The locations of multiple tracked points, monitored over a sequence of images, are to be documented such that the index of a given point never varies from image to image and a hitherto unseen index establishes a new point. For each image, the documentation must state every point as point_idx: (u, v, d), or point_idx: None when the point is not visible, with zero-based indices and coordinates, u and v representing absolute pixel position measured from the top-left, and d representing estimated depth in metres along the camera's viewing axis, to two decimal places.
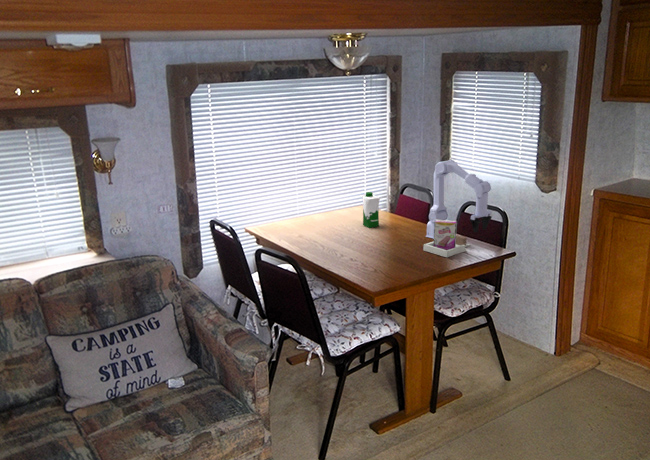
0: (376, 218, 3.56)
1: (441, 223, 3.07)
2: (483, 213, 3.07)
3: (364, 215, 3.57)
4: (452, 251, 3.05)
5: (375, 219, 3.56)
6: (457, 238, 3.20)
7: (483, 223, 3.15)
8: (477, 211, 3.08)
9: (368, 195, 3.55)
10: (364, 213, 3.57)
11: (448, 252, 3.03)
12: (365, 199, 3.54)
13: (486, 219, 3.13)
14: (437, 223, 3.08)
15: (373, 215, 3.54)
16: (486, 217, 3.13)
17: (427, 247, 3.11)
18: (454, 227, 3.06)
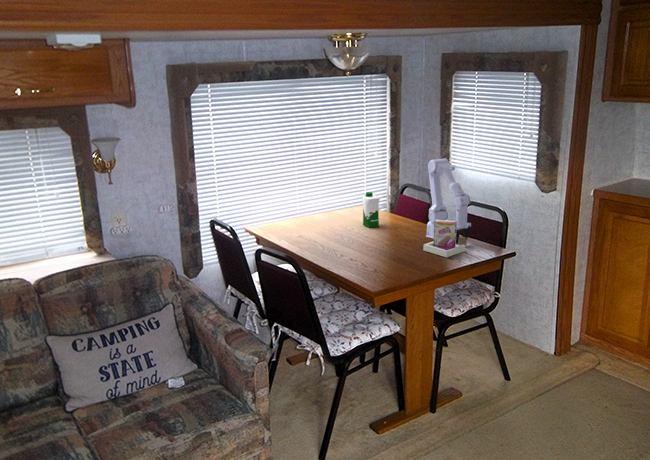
0: (376, 218, 3.56)
1: (441, 223, 3.07)
2: (463, 225, 3.15)
3: (364, 215, 3.57)
4: (452, 251, 3.05)
5: (375, 219, 3.56)
6: None
7: (463, 234, 3.22)
8: (457, 223, 3.16)
9: (368, 195, 3.55)
10: (364, 213, 3.57)
11: (448, 252, 3.03)
12: (365, 199, 3.54)
13: (466, 231, 3.21)
14: (437, 223, 3.08)
15: (373, 215, 3.54)
16: (466, 229, 3.20)
17: (427, 247, 3.11)
18: (454, 227, 3.06)
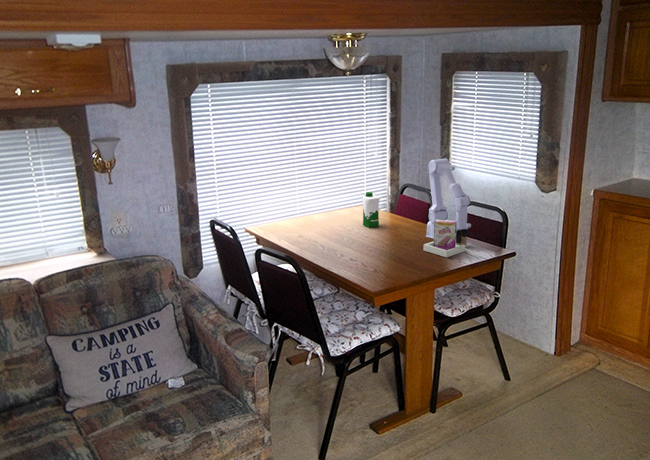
0: (376, 218, 3.56)
1: (441, 223, 3.07)
2: (463, 226, 3.15)
3: (364, 215, 3.57)
4: (452, 251, 3.05)
5: (375, 219, 3.56)
6: None
7: (461, 236, 3.21)
8: (457, 224, 3.16)
9: (368, 195, 3.55)
10: (364, 213, 3.57)
11: (448, 252, 3.03)
12: (365, 199, 3.54)
13: (463, 232, 3.19)
14: (437, 223, 3.08)
15: (373, 215, 3.54)
16: (463, 230, 3.19)
17: (427, 247, 3.11)
18: (454, 227, 3.06)
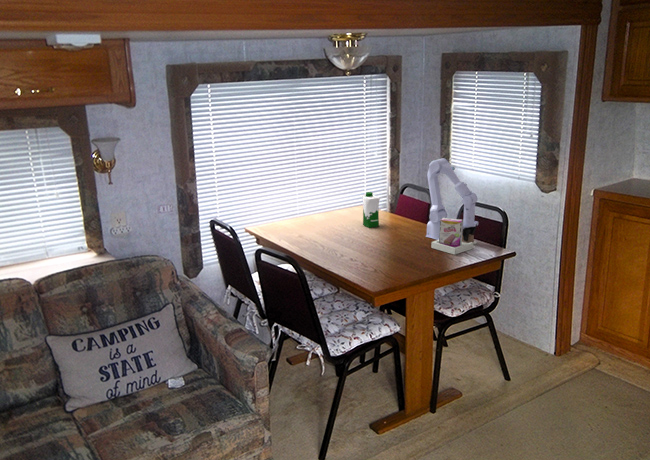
0: (376, 218, 3.56)
1: (446, 221, 3.10)
2: (470, 223, 3.19)
3: (364, 215, 3.57)
4: (460, 248, 3.09)
5: (375, 219, 3.56)
6: None
7: (468, 234, 3.25)
8: (465, 221, 3.20)
9: (368, 195, 3.55)
10: (364, 213, 3.57)
11: (456, 249, 3.07)
12: (365, 199, 3.54)
13: (471, 230, 3.23)
14: (443, 221, 3.10)
15: (373, 215, 3.54)
16: (471, 228, 3.23)
17: (435, 244, 3.15)
18: (459, 226, 3.08)
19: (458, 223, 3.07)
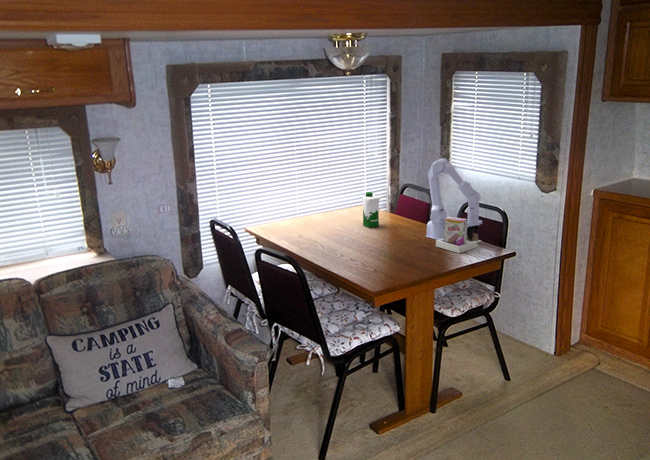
0: (376, 218, 3.56)
1: (450, 220, 3.12)
2: (474, 222, 3.21)
3: (364, 215, 3.57)
4: (464, 247, 3.11)
5: (375, 219, 3.56)
6: None
7: (472, 232, 3.27)
8: (469, 220, 3.22)
9: (368, 195, 3.55)
10: (364, 213, 3.57)
11: (460, 248, 3.09)
12: (365, 199, 3.54)
13: (475, 229, 3.25)
14: (447, 220, 3.13)
15: (373, 215, 3.54)
16: (475, 227, 3.25)
17: (439, 243, 3.18)
18: (463, 225, 3.09)
19: (462, 222, 3.09)
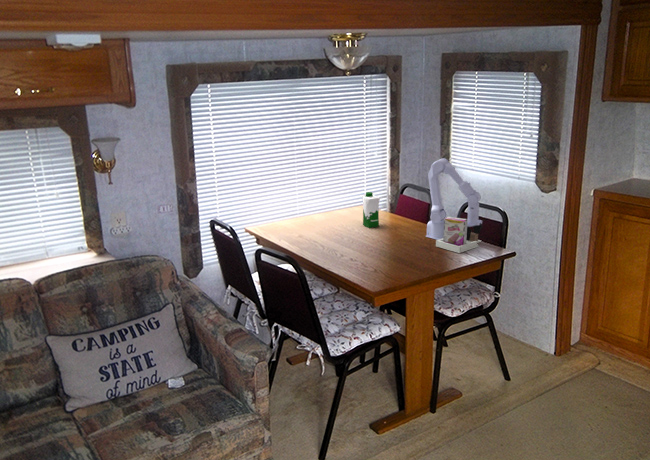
0: (376, 218, 3.56)
1: (450, 220, 3.12)
2: (474, 222, 3.21)
3: (364, 215, 3.57)
4: (464, 247, 3.11)
5: (375, 219, 3.56)
6: None
7: (475, 232, 3.29)
8: (469, 220, 3.22)
9: (368, 195, 3.55)
10: (364, 213, 3.57)
11: (460, 248, 3.09)
12: (365, 199, 3.54)
13: (477, 228, 3.27)
14: (447, 220, 3.13)
15: (373, 215, 3.54)
16: (477, 226, 3.27)
17: (440, 243, 3.18)
18: (463, 225, 3.09)
19: (462, 222, 3.09)
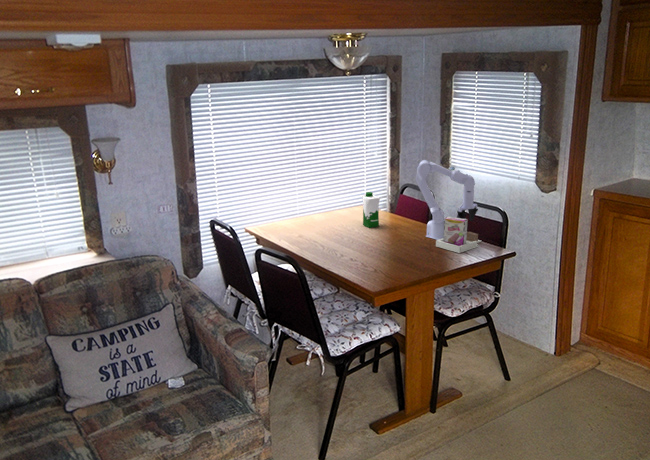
0: (376, 218, 3.56)
1: (450, 220, 3.12)
2: (469, 205, 3.25)
3: (364, 215, 3.57)
4: (464, 247, 3.11)
5: (375, 219, 3.56)
6: (469, 234, 3.26)
7: (470, 215, 3.33)
8: (464, 204, 3.26)
9: (368, 195, 3.55)
10: (364, 213, 3.57)
11: (460, 248, 3.09)
12: (365, 199, 3.54)
13: (473, 211, 3.31)
14: (447, 220, 3.13)
15: (373, 215, 3.54)
16: (473, 209, 3.31)
17: (440, 243, 3.18)
18: (463, 225, 3.09)
19: (462, 222, 3.09)
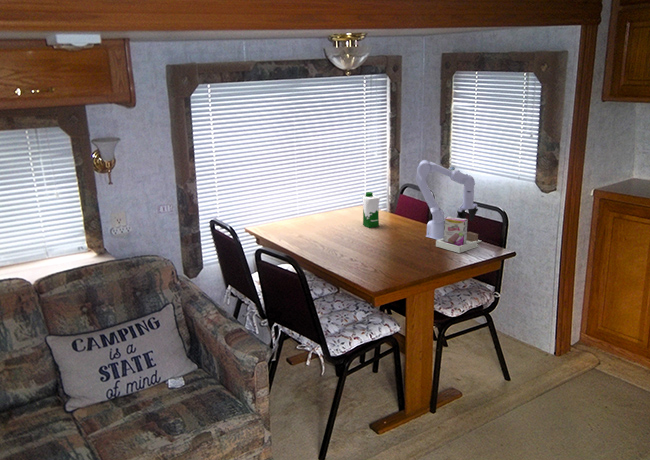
0: (376, 218, 3.56)
1: (450, 220, 3.12)
2: (469, 205, 3.25)
3: (364, 215, 3.57)
4: (464, 247, 3.11)
5: (375, 219, 3.56)
6: (469, 234, 3.26)
7: (470, 215, 3.33)
8: (464, 204, 3.26)
9: (368, 195, 3.55)
10: (364, 213, 3.57)
11: (460, 248, 3.09)
12: (365, 199, 3.54)
13: (473, 211, 3.31)
14: (447, 220, 3.13)
15: (373, 215, 3.54)
16: (473, 209, 3.31)
17: (440, 243, 3.18)
18: (463, 225, 3.09)
19: (462, 222, 3.09)
